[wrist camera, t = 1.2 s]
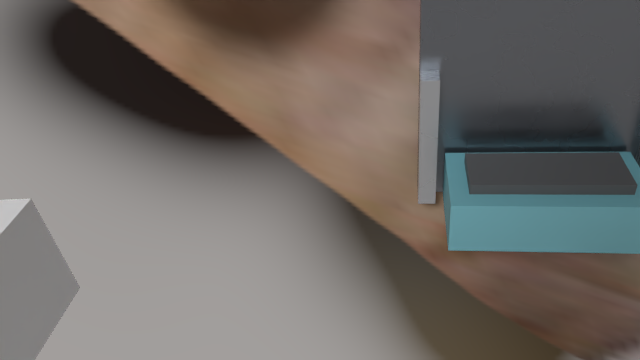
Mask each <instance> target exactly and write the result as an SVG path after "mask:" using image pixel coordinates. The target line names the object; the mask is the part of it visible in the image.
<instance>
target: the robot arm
mask: <svg viewBox="0 0 640 360" xmlns="http://www.w3.org/2000/svg"><path fill="white" fill-rule="evenodd" d="M79 288H80V287H79V285H78V283H77V281H76V279H75V277H74V276H73V274H72V272H71V270H70V268H69V267H68V265H67V263H66V261H65V259H64V257H63V256H62V254H61V252H60V250H59V248H58V247H57V245H56V243H55V241H54V239H53V238H52V236H51V234H50V232H49V230H48V228H47V227H46V225H45V223H44V221H43V219H42V218H41V216H40V214H39V212H38V210H37V209H36V207H35V205H34V203H33V201H32V200H31V199H11V200H0V360H35V359H36V357H37V355H38V354H39V352H40V351H41V349H42V347H43V346H44V344H45V343H46V341H47V339H48V337H49V336H50V335H51V333H52V331H53V330H54V328H55V327H56V325H57V324H58V322H59V320H60V319H61V317H62V316H63V313H64V312H65V311H66V309H67V307H68V306H69V304H70V303H71V301H72V300H73V298H74V296H75V295H76V293H77V292H78V290H79Z"/></svg>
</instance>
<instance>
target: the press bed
mask: <svg viewBox="0 0 640 360" xmlns="http://www.w3.org/2000/svg"><path fill="white" fill-rule="evenodd" d="M506 152H631V154H632V155H633V157H634V159H635V160H636V162H637V164H638V165H639V167H640V0H421V7H420V65H419V123H418V180H417V183H418V204H435V197H436V192H443V184H444V163H445V153H506Z"/></svg>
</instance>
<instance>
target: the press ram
mask: <svg viewBox="0 0 640 360" xmlns="http://www.w3.org/2000/svg"><path fill="white" fill-rule="evenodd" d="M443 200H444V211H445V221H446V232H447V243H448V250H458V251H515V252H572V253H629V254H640V167H639V165H638V164H637V162H636V160H635V159H634V157H633V155H632V154H631V152H506V153H445V163H444V184H443Z"/></svg>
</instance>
